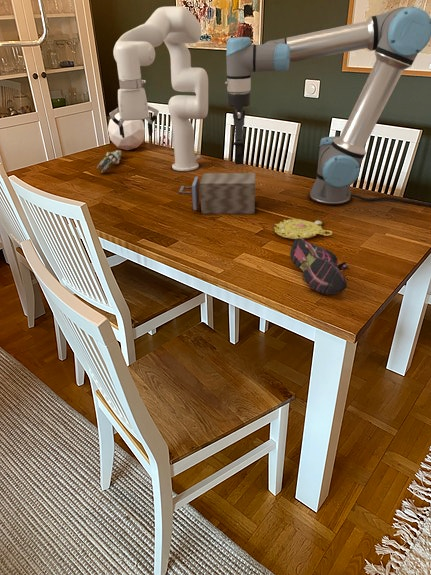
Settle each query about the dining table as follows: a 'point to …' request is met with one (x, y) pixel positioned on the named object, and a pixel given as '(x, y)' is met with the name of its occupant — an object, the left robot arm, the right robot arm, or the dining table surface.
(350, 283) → the dining table surface
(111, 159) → the figurine
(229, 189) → the cabinet
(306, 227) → the decorative object
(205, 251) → the dining table surface
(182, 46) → the left robot arm
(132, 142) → the sphere
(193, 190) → the drawer
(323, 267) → the athletic shoe
